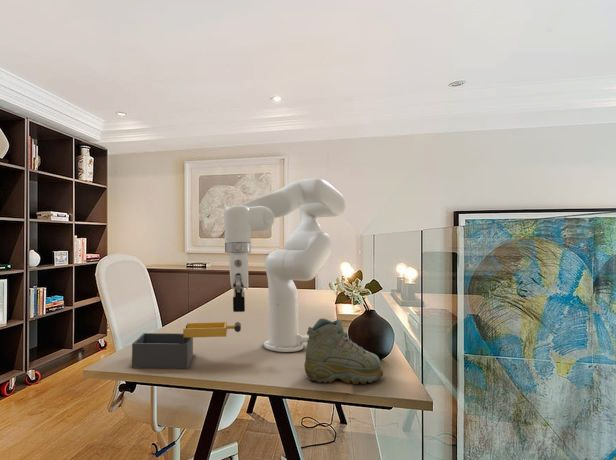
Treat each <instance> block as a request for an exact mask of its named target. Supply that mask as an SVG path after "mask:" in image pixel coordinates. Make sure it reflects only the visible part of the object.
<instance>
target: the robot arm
mask: <svg viewBox="0 0 616 460" xmlns="http://www.w3.org/2000/svg"><path fill="white" fill-rule="evenodd" d="M297 209H298V210H299V212H298V213H299V225H298V226H297V227H296V229H295V230H294V231H293V232H292V233H291V234H290V236H289V237H288V238H287V240H286V241H285V243H284V249H276V250H273V251H271V252H270V253H268V255H267V256H266V258H265V262H264V268H265V273H266V277H267V285H268V286H267V287H268V340H266V341H265V340H264V343H263V347H264V348H265V349H266V350H269V351H272V352H279V353H293V352H299V351H301V350H303V349H304V343H308V339H309V335H308V334H306V335H301V334H300V332H299V293H298V289H297V286H296V284H295V282H294V281H299V282H304V281H305V282H307V281H312V280H313V279H315V277H317V275H318V274H319V272H320V271H321V270H322V268H323V267H324V265H325V264H326V262H327V261H328V260H329V258H330V256H331V254H332V250H333V241H332V238H331V236H330V235H329V234H328V233H326V232H325V231H323V229H322V227H321V225H320V223H319V222H318V220H317V218H332V217H339V216H341V215H342V214H343V213H344V212H345V209H346V200H345V197H344V195H343V194H342V193H341V192H340V191H338V190H337V189H336V188H335V187H334V186H333V185H331V183H329V182H328V181H326V180H324V179H323V178H321V177H314V178H313V177H312V178H308V179H299V180H295V181H292V182H291V183H288V184H287V185H285V186H283V187H281V188H279V189H278V190H275V191H274V192H270V193H268V194H265V195H262V196H260V197H257V198H254V199H251V200H248V201H246V202H244V203H242V204H241V205H230V206H227V207H225V209H224V212H223V215H224V216H223V218H224V220H223V221H224V254H225V255H228V258H229V259H228V262H229V263H228V265H229V279H230V287H231V289H232V290H233V296H232V312H234V313H243V312H246V303H245V302H246V301H245V300H246V299H245V291H244V290H245V289H246V290H248V289H249V286H250V285H249V284H250V283H249V257H248V255H251V254H252V237H251V235H252V233H251V232H263V231H264V232H265V231H267V230H269V229H270V228H272V226H273V225H274V223H275V219H277V218H281V217H284V216H287V215H289V214H291V213H292V212H294V211H295V210H297ZM244 288H245V289H244Z"/></svg>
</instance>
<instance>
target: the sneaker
mask: <svg viewBox="0 0 616 460" xmlns="http://www.w3.org/2000/svg"><path fill="white" fill-rule="evenodd" d="M306 335H308V336H309V339H308V343H307V342H306V343H307V344H306V347H305V358H304V359H305V361H304V372H305V374H306V376H307V378H309V379H310V380H311V381H313V382H316V383H320V384H321V383H323V384H324V383H325V384H326V383H327V384H328V383H329V384H331V383H333V382H334V381H335V380H340V381H342V382H344V383H345V384H352V385H359V384H361V385H366V384H367V383H368V384H372V383H373V382H377V381H378V380H380V379H381V377H383V375H384V370H383V367H382V364H381V360H380V358H379V356H378V355H377V354H375V353H373V352H370V351H368V350H367V349H364V348H363V347H362V346H359V345H358V344H357V343H356V342H354V341H352V339H351V338H349V334H348V332H345V330H344V326H343V320H341V319H336V320H334V321H332V320H329V319H326V318H319V319H318V320H317V321H316V322H315V323H314V325H313V326H312V327H311V326H308V329H307V331H306Z"/></svg>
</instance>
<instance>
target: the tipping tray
mask: <svg viewBox="0 0 616 460" xmlns="http://www.w3.org/2000/svg"><path fill="white" fill-rule="evenodd" d="M186 325H187V329H186V328H183V329H182V334H183V335H184V338H191V337H193V338H220V337H221V338H223V337H227V334H228V330H234V331H235V332H236V333H239V332H240V331H241V330H242V324H241V322H240V321H236V322H235V323H234V324H233V325H231V324H230V325H228V322H227V321H214V322H187V323H186Z"/></svg>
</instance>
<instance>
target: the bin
mask: <svg viewBox="0 0 616 460" xmlns="http://www.w3.org/2000/svg"><path fill="white" fill-rule="evenodd" d="M185 329H187V324H186V325H185ZM193 356H194V337H191V338H184V335H183V333H179V332H178V333H173V332H172V333H171V332H170V333H168V332H167V333H163V332H161V333H160V332H159V333H158V332H154V333H153V332H143V333H142V334H141V335H140V336H139V337H138V338H137V339H136V340H135V341H133V342H132V343H131V368H133V369H137V368H139V369H141V368H142V369H188V367H189V365H190V363H191V361H192V359H193Z"/></svg>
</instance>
